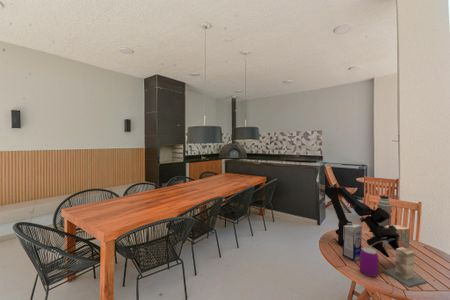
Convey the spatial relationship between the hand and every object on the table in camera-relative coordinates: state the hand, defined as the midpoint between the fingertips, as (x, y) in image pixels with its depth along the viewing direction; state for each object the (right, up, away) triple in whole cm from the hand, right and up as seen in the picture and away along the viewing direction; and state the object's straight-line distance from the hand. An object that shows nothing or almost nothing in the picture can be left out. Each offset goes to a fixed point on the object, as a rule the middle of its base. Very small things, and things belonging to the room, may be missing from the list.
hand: (394, 255), depth 108 cm
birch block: (+1, -8, -4) cm, 9 cm away
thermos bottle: (+28, -7, +44) cm, 52 cm away
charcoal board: (+1, -9, -4) cm, 10 cm away
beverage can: (-14, -9, -1) cm, 17 cm away
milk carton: (-14, -8, +14) cm, 21 cm away
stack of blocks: (+20, -8, +27) cm, 35 cm away
